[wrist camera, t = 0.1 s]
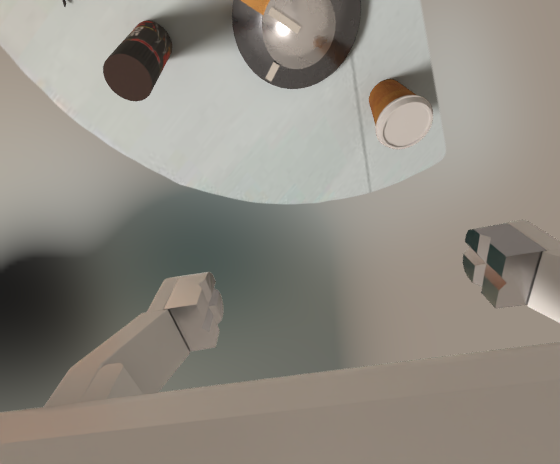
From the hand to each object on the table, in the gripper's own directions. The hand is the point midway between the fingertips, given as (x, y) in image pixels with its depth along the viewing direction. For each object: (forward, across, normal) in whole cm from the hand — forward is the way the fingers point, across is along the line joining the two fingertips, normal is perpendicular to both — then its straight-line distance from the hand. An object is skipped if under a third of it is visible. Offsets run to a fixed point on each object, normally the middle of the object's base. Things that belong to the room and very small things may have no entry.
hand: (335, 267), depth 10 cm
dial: (+48, 0, -13) cm, 50 cm away
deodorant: (+51, +20, -13) cm, 56 cm away
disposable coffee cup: (+56, -18, +4) cm, 59 cm away
